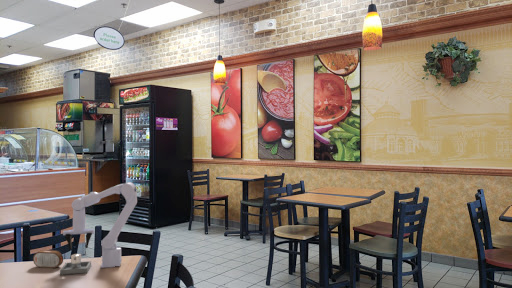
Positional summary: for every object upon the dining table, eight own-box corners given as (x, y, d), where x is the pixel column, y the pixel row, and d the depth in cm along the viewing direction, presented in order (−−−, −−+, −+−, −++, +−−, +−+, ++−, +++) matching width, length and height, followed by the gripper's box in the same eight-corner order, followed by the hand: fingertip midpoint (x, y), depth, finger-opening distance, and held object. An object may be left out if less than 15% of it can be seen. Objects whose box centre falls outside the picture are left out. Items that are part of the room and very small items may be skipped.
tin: (63, 266, 197) (63, 250, 197) (59, 268, 193) (60, 252, 193) (36, 265, 198) (36, 249, 198) (31, 267, 195) (32, 251, 195)
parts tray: (91, 265, 198) (91, 261, 198) (87, 273, 186) (87, 268, 186) (65, 267, 195) (65, 262, 195) (60, 275, 183) (60, 270, 183)
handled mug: (82, 267, 193) (81, 253, 193) (79, 271, 188) (79, 256, 188) (72, 268, 192) (72, 254, 192) (69, 271, 187) (69, 257, 187)
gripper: (61, 223, 191) (61, 251, 191) (93, 222, 195) (92, 249, 195) (64, 221, 198) (64, 247, 198) (94, 219, 202) (94, 245, 202)
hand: (78, 248), depth 197 cm, fingers open, 7 cm apart
